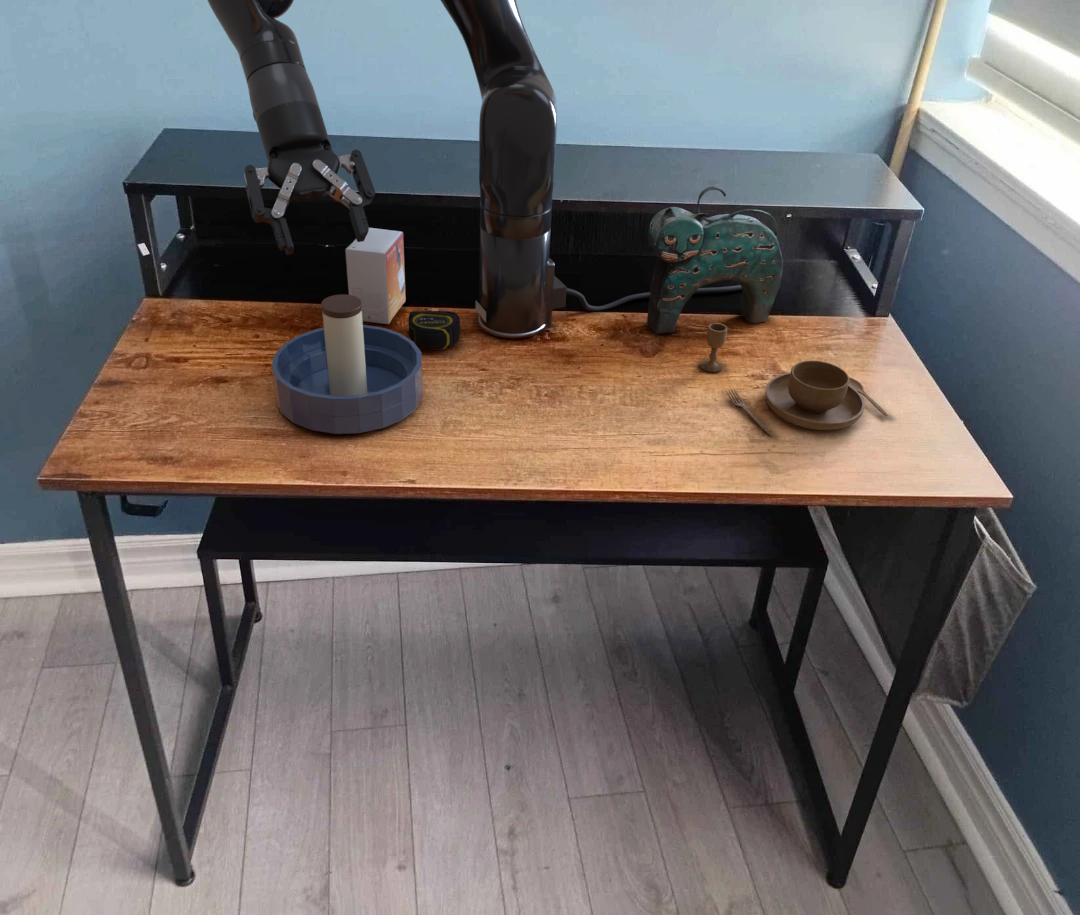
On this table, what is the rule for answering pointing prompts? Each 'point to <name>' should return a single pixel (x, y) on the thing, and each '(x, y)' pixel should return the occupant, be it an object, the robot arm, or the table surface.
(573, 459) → the table surface
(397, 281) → the small box
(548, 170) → the robot arm
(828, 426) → the place setting
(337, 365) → the tube
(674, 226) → the ceramic cat
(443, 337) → the tape measure
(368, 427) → the bowl
